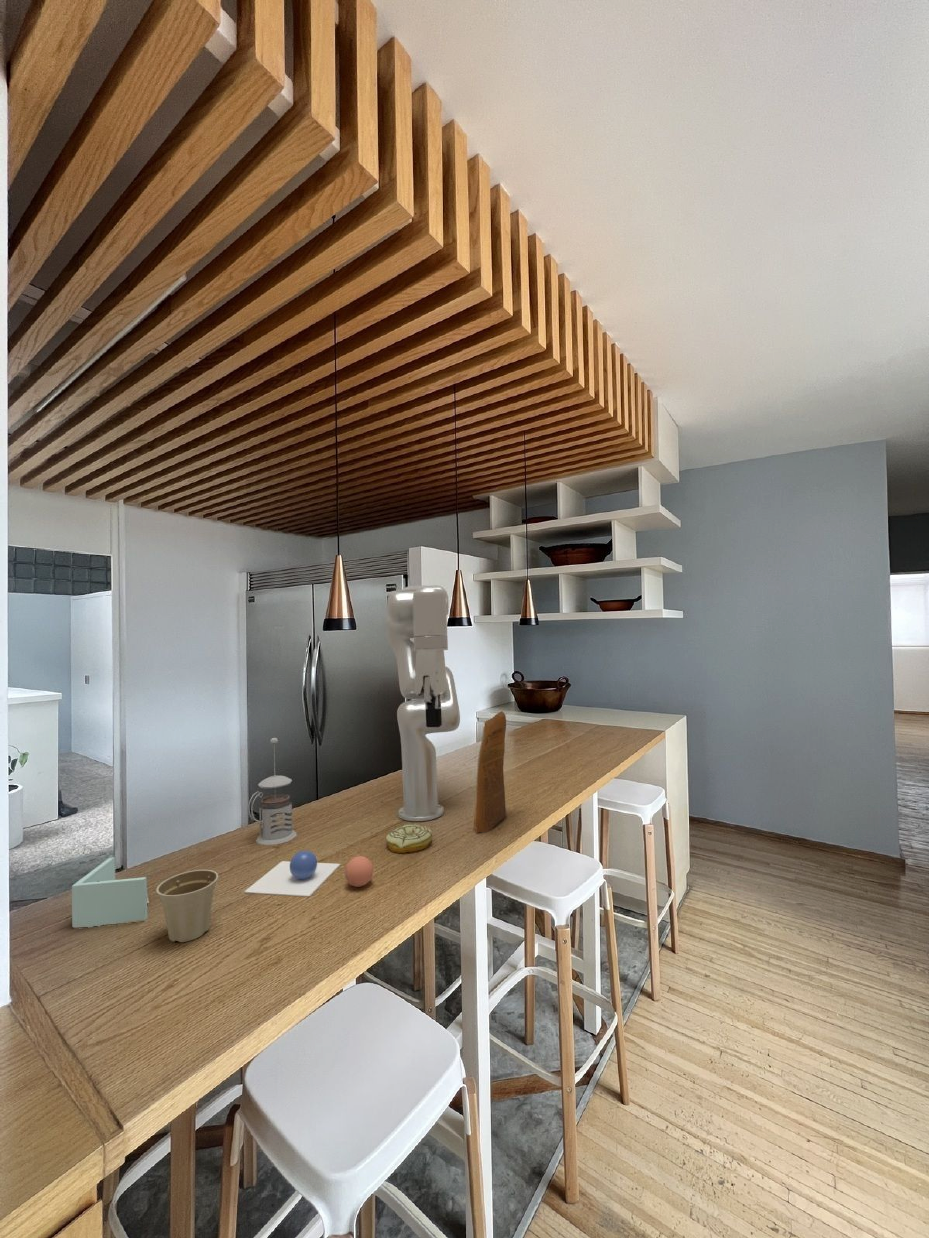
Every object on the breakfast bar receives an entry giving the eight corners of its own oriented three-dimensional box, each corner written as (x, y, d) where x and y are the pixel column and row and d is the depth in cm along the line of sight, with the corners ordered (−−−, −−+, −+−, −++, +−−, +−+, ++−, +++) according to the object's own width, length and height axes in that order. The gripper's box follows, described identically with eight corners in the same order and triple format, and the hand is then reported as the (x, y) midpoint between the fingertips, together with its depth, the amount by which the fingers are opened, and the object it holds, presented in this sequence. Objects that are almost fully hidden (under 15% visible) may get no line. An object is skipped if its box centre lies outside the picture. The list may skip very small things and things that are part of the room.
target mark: (282, 861, 116) (281, 861, 116) (340, 864, 114) (340, 863, 114) (244, 892, 102) (244, 891, 102) (309, 896, 100) (309, 895, 100)
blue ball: (324, 850, 110) (318, 875, 110) (301, 842, 111) (296, 867, 111) (311, 861, 104) (305, 888, 105) (287, 853, 106) (281, 879, 106)
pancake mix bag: (518, 812, 142) (513, 710, 143) (490, 838, 125) (485, 721, 126) (495, 809, 145) (491, 709, 146) (465, 834, 128) (460, 720, 129)
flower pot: (176, 955, 82) (175, 900, 83) (146, 939, 87) (145, 887, 88) (230, 926, 90) (229, 876, 91) (199, 913, 95) (198, 865, 96)
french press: (304, 835, 132) (301, 736, 133) (260, 850, 123) (257, 744, 124) (285, 826, 138) (282, 732, 139) (241, 840, 130) (239, 740, 131)
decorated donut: (378, 846, 124) (377, 830, 124) (416, 833, 130) (415, 818, 131) (401, 859, 116) (400, 842, 116) (440, 845, 122) (439, 829, 122)
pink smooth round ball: (376, 851, 106) (373, 875, 107) (349, 849, 106) (347, 872, 107) (371, 869, 101) (369, 894, 102) (343, 867, 100) (341, 891, 101)
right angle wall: (145, 921, 93) (144, 879, 93) (72, 929, 92) (71, 885, 92) (173, 889, 105) (172, 852, 105) (109, 895, 104) (109, 857, 104)
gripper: (423, 644, 124) (426, 721, 123) (404, 645, 109) (407, 733, 109) (454, 642, 123) (457, 720, 122) (439, 644, 108) (442, 732, 107)
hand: (434, 726), depth 115 cm, fingers closed
